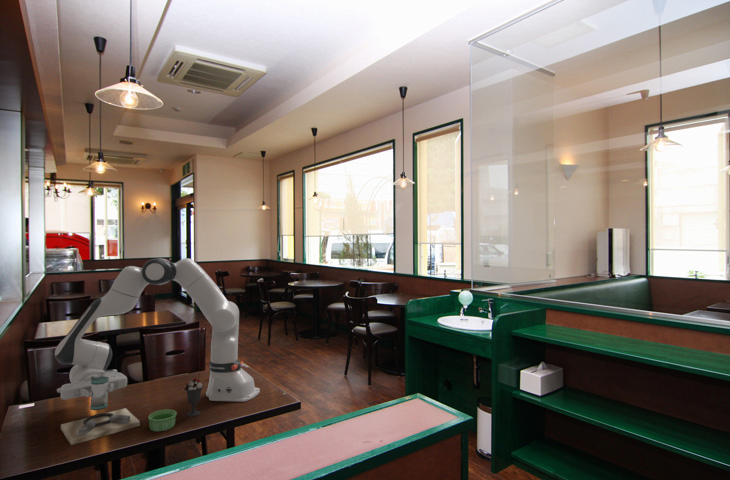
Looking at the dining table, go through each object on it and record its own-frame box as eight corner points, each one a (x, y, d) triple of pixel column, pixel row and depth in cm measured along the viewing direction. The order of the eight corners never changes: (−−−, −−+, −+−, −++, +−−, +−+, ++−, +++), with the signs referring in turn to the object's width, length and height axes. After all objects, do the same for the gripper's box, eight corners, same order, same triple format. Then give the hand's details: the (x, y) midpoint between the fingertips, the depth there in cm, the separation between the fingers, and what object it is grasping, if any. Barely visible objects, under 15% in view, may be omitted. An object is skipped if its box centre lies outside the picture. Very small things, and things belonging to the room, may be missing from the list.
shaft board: (125, 412, 154) (125, 402, 154) (139, 425, 143) (140, 415, 143) (60, 428, 140) (61, 418, 140) (71, 445, 129) (71, 434, 129)
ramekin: (156, 420, 148) (157, 408, 148) (181, 421, 148) (181, 409, 148) (142, 432, 139) (142, 419, 139) (168, 433, 139) (168, 420, 139)
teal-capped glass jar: (111, 405, 145) (112, 377, 145) (98, 411, 140) (99, 382, 140) (99, 403, 146) (100, 375, 146) (86, 409, 141) (87, 380, 141)
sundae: (206, 411, 156) (207, 372, 156) (194, 418, 150) (195, 378, 150) (193, 409, 158) (194, 370, 158) (180, 415, 152) (181, 376, 152)
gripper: (56, 380, 144) (64, 390, 135) (120, 368, 159) (132, 377, 150) (55, 397, 144) (63, 409, 135) (120, 384, 159) (131, 394, 150)
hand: (100, 392), depth 142 cm, fingers closed on teal-capped glass jar, 5 cm apart
